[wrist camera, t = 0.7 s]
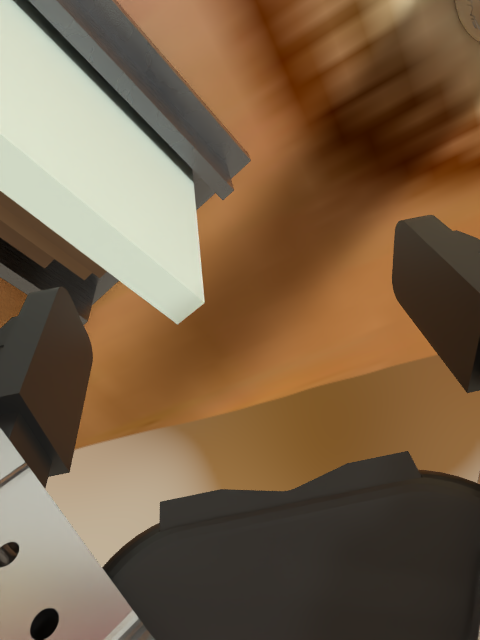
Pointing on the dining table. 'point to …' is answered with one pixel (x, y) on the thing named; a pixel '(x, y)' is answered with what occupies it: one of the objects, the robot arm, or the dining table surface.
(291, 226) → the dining table surface
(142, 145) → the tall sheet
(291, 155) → the dining table surface
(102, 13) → the rack
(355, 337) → the dining table surface
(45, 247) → the offcut bundle
